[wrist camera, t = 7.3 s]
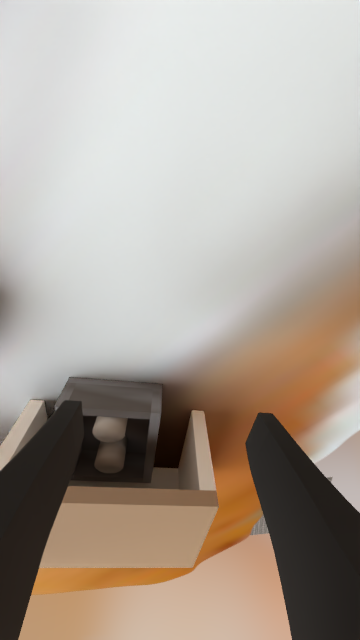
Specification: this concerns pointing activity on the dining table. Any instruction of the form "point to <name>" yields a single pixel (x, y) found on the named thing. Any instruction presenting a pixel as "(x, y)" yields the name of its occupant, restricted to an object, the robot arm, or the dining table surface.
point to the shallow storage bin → (129, 508)
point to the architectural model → (261, 524)
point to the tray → (117, 407)
